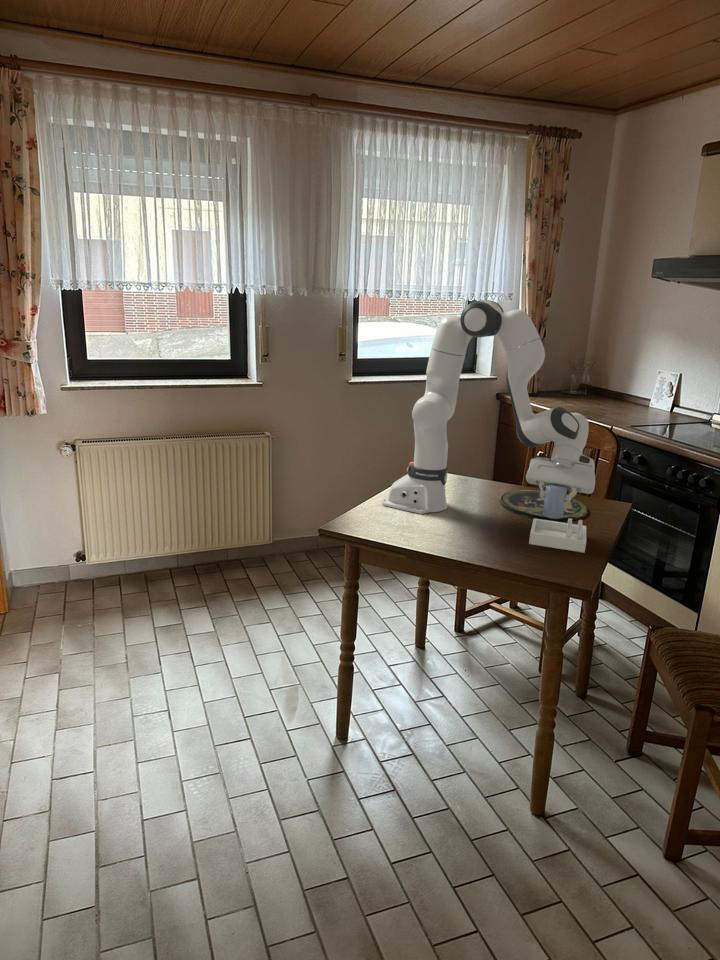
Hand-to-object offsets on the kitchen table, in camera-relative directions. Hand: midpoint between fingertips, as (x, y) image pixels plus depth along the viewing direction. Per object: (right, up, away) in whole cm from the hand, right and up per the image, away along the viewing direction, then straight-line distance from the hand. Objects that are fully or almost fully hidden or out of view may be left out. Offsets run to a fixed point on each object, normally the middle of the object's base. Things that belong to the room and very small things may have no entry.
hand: (554, 499), depth 202 cm
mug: (0, -5, +2) cm, 5 cm away
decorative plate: (+6, -4, +35) cm, 35 cm away
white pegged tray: (+2, -13, +4) cm, 13 cm away
